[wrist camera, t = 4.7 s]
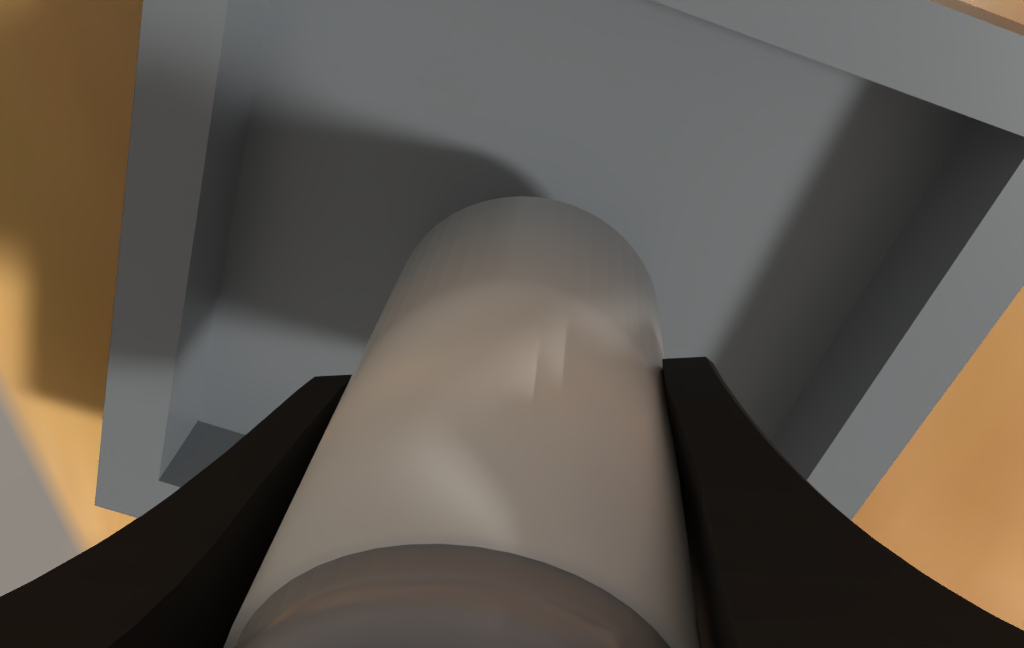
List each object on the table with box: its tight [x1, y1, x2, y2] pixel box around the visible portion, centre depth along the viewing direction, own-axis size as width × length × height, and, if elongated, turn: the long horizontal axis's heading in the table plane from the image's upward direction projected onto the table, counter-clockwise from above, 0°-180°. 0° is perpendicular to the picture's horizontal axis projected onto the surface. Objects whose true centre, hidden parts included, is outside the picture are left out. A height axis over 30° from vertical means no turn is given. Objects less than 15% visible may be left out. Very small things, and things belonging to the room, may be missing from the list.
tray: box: [95, 0, 1024, 520], centre depth 16 cm, size 14×14×3 cm
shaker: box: [224, 196, 701, 648], centre depth 11 cm, size 5×5×9 cm
